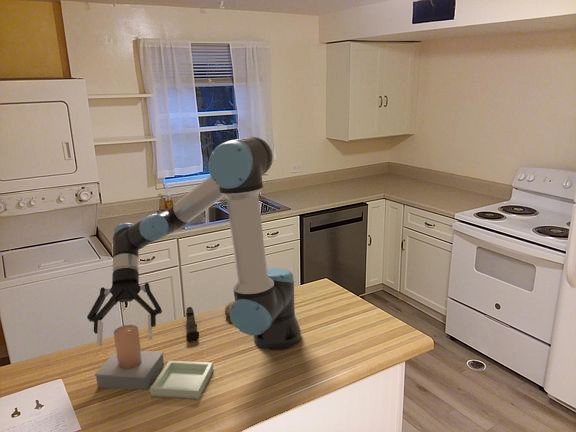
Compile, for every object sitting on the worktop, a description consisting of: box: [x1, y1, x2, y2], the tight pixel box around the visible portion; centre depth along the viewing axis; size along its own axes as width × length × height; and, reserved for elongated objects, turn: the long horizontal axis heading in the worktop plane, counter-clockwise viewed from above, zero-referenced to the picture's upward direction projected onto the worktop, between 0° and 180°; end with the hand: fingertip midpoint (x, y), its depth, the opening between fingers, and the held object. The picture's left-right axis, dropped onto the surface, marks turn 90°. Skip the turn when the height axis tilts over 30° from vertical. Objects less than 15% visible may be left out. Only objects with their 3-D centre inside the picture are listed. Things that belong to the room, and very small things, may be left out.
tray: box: [149, 360, 214, 400], centre depth 126 cm, size 13×13×2 cm
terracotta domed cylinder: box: [113, 324, 142, 369], centre depth 128 cm, size 6×6×10 cm
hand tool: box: [185, 306, 200, 343], centre depth 156 cm, size 19×4×5 cm, turn 12°
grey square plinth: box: [94, 350, 165, 391], centre depth 130 cm, size 14×12×4 cm
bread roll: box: [224, 300, 235, 322], centre depth 163 cm, size 10×10×8 cm
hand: (125, 341), depth 129 cm, fingers open, 13 cm apart
